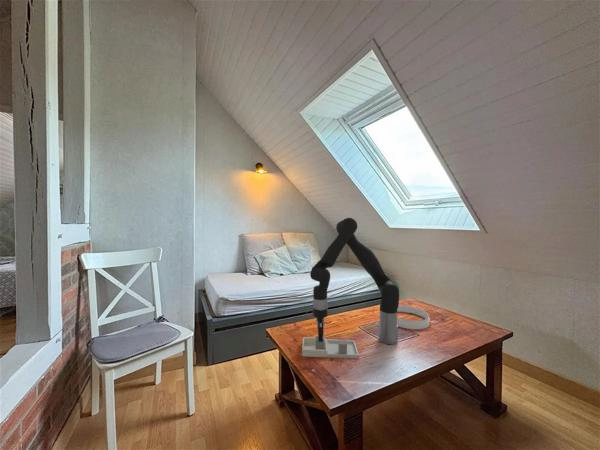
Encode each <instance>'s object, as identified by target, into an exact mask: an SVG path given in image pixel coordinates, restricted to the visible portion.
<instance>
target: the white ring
mask: <svg viewBox="0 0 600 450" xmlns="http://www.w3.org/2000/svg"><path fill="white" fill-rule="evenodd" d="M397 313H410V314H413V315H416V316H419V317H421V318H423V319H422V320H410V319H405V318H401V317H398V316H397V326H398V328H399V327H400V328H403V329H408V330H425V329H427V328H429V327H430V324H431V318H430V316H429V314H428V312H427V311H425V310H423V309H421V308H419V307H415V306H411V305H404V304H399V306H398V309H397Z"/></svg>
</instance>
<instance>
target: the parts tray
mask: <svg viewBox="0 0 600 450" xmlns="http://www.w3.org/2000/svg"><path fill="white" fill-rule="evenodd" d="M338 340H339V339H335V338H334V339H333V338H326V342H327V357H326V358H338V359H339V358H341V359H342V358H343V359H360V354H359V350H358V349H357V345H356V342H355V340H354V339H345V340H346V342H347V354H338Z"/></svg>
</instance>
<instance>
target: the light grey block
mask: <svg viewBox="0 0 600 450" xmlns="http://www.w3.org/2000/svg"><path fill="white" fill-rule="evenodd" d="M337 340H338V354H347V342H346V340H347V339H337Z"/></svg>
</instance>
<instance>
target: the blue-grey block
mask: <svg viewBox="0 0 600 450" xmlns="http://www.w3.org/2000/svg"><path fill="white" fill-rule="evenodd" d="M315 337H316V349H318V350H324V339H323V342H319V341H318V335H317V336H315Z"/></svg>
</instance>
